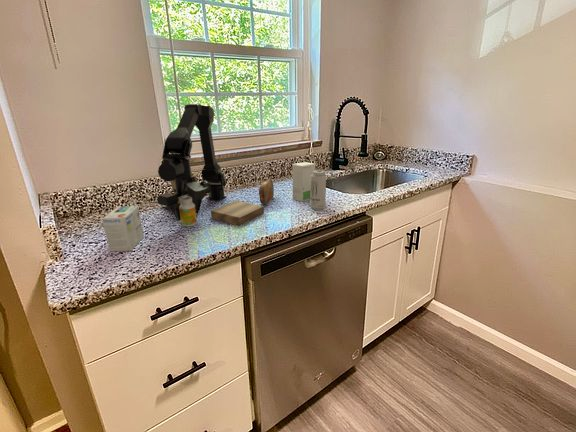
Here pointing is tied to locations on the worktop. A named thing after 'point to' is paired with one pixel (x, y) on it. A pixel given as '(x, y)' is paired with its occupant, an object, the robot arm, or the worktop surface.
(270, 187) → the tin
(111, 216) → the light bulb box
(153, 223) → the worktop surface
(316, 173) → the energy drink can
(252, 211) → the walnut base
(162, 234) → the worktop surface
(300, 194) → the skincare box
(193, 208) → the supplement bottle
